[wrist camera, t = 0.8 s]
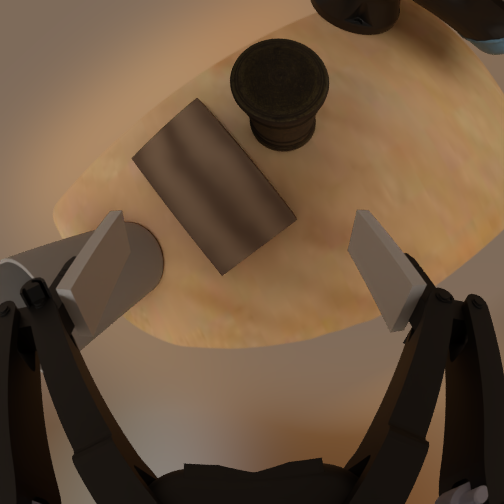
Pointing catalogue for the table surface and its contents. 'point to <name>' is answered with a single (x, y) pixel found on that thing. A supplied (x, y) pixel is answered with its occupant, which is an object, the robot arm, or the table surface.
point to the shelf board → (212, 187)
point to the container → (280, 91)
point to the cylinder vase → (58, 253)
